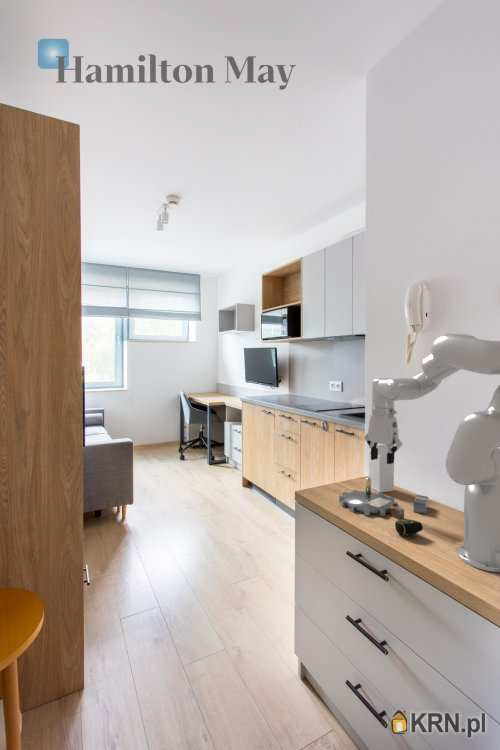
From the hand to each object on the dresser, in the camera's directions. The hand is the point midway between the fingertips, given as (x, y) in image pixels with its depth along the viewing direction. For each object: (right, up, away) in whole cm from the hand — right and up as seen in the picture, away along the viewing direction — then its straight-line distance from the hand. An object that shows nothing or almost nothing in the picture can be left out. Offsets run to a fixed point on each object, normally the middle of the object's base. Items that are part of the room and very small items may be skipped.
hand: (382, 460), depth 131 cm
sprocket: (-4, -18, +4) cm, 19 cm away
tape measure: (+4, -18, -20) cm, 27 cm away
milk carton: (+8, -17, +22) cm, 29 cm away
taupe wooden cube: (+3, -18, -7) cm, 19 cm away
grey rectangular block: (+14, -18, 0) cm, 23 cm away
